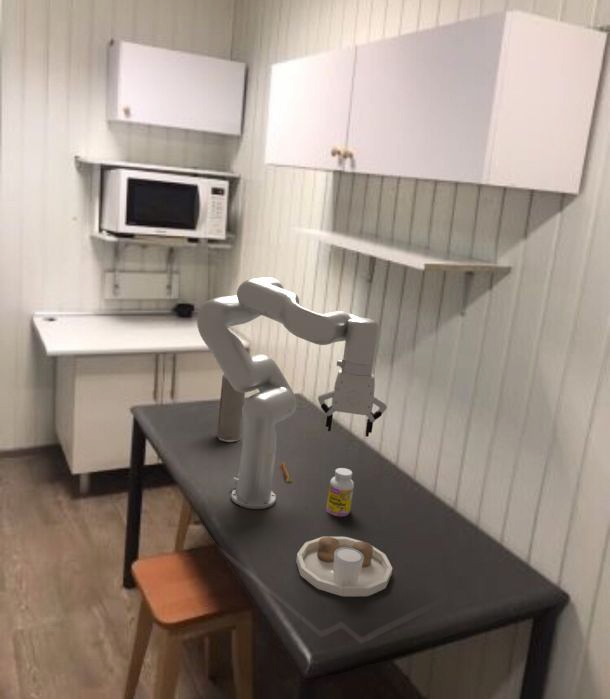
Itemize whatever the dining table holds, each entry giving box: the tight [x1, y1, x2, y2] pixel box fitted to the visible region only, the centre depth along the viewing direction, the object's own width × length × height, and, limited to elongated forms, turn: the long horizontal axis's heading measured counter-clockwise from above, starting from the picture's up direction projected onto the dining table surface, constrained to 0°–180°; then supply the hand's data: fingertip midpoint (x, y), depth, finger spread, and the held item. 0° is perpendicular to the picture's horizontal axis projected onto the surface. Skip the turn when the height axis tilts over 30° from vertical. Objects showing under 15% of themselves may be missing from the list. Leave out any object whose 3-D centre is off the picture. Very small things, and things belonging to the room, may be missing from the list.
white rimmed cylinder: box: [333, 547, 364, 586], centre depth 157 cm, size 7×7×7 cm
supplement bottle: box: [325, 467, 355, 517], centre depth 190 cm, size 7×7×13 cm
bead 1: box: [317, 536, 340, 562], centre depth 167 cm, size 5×5×4 cm
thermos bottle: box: [216, 373, 246, 440], centre depth 232 cm, size 8×8×28 cm
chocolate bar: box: [279, 460, 293, 483], centre depth 213 cm, size 3×12×2 cm, turn 12°
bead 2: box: [352, 541, 374, 567], centre depth 167 cm, size 5×5×4 cm
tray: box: [295, 536, 393, 598], centre depth 163 cm, size 22×22×3 cm
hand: (348, 432), depth 175 cm, fingers open, 9 cm apart
